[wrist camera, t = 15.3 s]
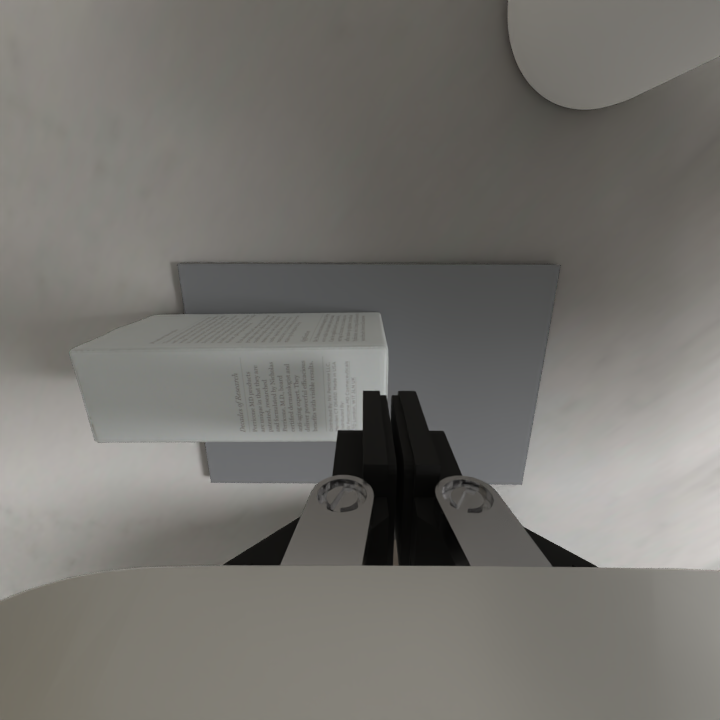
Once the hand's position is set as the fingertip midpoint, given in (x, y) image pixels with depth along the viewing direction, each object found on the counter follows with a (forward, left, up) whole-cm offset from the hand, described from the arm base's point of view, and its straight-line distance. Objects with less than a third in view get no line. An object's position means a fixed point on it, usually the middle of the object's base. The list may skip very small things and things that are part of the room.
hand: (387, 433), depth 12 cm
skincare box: (0, 0, -6) cm, 6 cm away
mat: (0, +2, -9) cm, 9 cm away
